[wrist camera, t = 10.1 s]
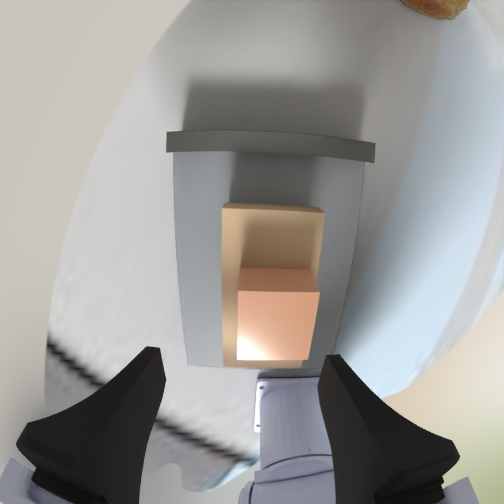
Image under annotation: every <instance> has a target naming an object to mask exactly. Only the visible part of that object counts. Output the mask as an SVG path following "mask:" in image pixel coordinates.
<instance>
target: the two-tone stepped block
mask: <svg viewBox="0 0 504 504" xmlns="http://www.w3.org/2000/svg"><path fill="white" fill-rule="evenodd" d="M324 218H325V213H324V212H323V211H322V210H321V209H320V208H319V207H312V206H296V205H277V204H255V203H224V205H223V207H222V334H223V366H227V367H251V368H301V366H302V361H303V360H239V359H237V321H238V283H239V273H240V267H245V268H281V269H310V271H311V273H312V275H313V277H314V280H315V282H316V281H317V274H318V267H319V260H320V252H321V244H322V236H323V228H324Z"/></svg>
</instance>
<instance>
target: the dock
mask: <svg viewBox="0 0 504 504" xmlns="http://www.w3.org/2000/svg"><path fill="white" fill-rule="evenodd" d="M375 144H376V143H370V142H364V141H358V140H351V139H344V138H336V137H328V136H319V135H310V134H299V133H286V132H270V131H243V130H201V131H175V132H167V143H166V152H173V179H174V218H175V240H176V256H177V270H178V283H179V294H180V304H181V314H182V323H183V332H184V340H185V348H186V355H187V362H188V365H189V366H201V367H215V368H233V369H316V368H323V364H324V360H325V357H326V355H332V353H333V350H334V346H335V342H336V338H337V334H338V330H339V325H340V321H341V317H342V312H343V308H344V303H345V298H346V293H347V288H348V283H349V278H350V273H351V267H352V261H353V255H354V249H355V243H356V236H357V229H358V222H359V214H360V206H361V198H362V188H363V178H364V166H365V162H370V163H374V159H375ZM224 203H255V204H277V205H296V206H312V207H319V208H320V209H321V210H322V211H323V212H324V213H325V218H324V228H323V236H322V244H321V252H320V260H319V267H318V274H317V281H316V284H317V286H318V289H319V291H320V296H319V302H318V308H317V314H316V320H315V325H314V331H313V336H312V341H311V347H310V352H309V357H308V360H303V361H302V366H301V368H251V367H227V366H223V334H222V207H223V205H224Z"/></svg>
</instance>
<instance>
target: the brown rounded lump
mask: <svg viewBox="0 0 504 504" xmlns="http://www.w3.org/2000/svg"><path fill="white" fill-rule="evenodd" d="M400 1H401V2H403V3H404V4H405V5H408V6H409V7H410V8H412V9H415V10H416V11H418V12H419V13H421V14H424V15H427V16H430V17H432V18H435V19H439V20H444V19H449V20H452V19H455V18H456V16H457V15H459V13H461V11H462V10H464V9H466V7H467V3H468V2H469V0H400Z"/></svg>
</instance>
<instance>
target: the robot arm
mask: <svg viewBox="0 0 504 504" xmlns="http://www.w3.org/2000/svg"><path fill="white" fill-rule="evenodd" d="M165 383H166V376H165V372H164V367H163V362H162V357H161V352H160V348H157V347H149V346H147V347H145V348H144V349H143V350H142V351H141V352H140V353H139V354H138V355H137V356H136V357H135V358H134V359H133V360H132V361H131V362H130V363H129V364H128V365H127V366H126V367H125V368H124V369H123V370H122V371H120V372H119V373H118V374H117V375H116V376H115V377H114V378H113V379H111V380H110V381H109V382H108V383H107V384H105V385H104V386H103V387H102V388H100V389H99V390H98V391H96V392H95V393H93V394H92V395H90V396H89V397H87V398H86V399H84V400H83V401H81V402H79V403H77V404H75V405H73V406H72V407H70V408H68V409H66V410H64V411H61V412H59V413H57V414H54V415H52V416H49V417H46V418H43V419H40V420H37V421H33V422H29V423H27V425H26V426H25V428H24V430H23V432H22V433H21V435H20V437H19V439H18V440H17V442H16V445H17V448H18V449H19V451H20V452H21V453H22V454H23V455H24V456H25V457H26V458H27V459H28V460H29V461H30V462H31V463H32V464H33V465H34V466H35V467H36V470H35V472H33V471H32V470H31V469H29V468H28V467H26V466H24V465H23V464H21V463H20V462H18V461H16V460H15V459H13V458H10V460H9V461H8V463H7V465H6V467H5V469H4V471H3V474H2V475H1V478H0V501H1V502H3V503H4V504H139V494H140V484H141V476H142V469H143V463H144V457H145V452H146V447H147V443H148V439H149V436H150V433H151V430H152V427H153V424H154V421H155V418H156V415H157V413H158V410H159V407H160V404H161V401H162V397H163V393H164V388H165ZM261 386H262V387H261ZM254 431H256V432H260V458H261V470H259V471H255V481H249V482H248V483H247V484H246V485H245V487H244V488H243V489H242V490H241V493H240V495H239V501H238V504H479V502H478V499H477V497H476V494H475V492H474V490H473V487H472V485H471V483H470V480H469V478H468V477H465V478H463V479H461V480H459V481H457V482H455V483H453V484H451V485H449V486H447V487H446V488H444V489H442V486H441V484H443V483H444V480H443V477H442V476H443V475H444V474H445V473H446V472H448V471H449V470H450V469H451V468H452V467H453V466H454V465H455V464H456V463H457V461H458V460H459V458H460V455H459V453H458V451H457V449H456V447H455V445H454V443H453V441H452V440H449V439H446V438H443V437H441V436H438V435H436V434H433V433H431V432H429V431H427V430H425V429H423V428H421V427H419V426H417V425H416V424H414V423H412V422H411V421H409V420H407V419H406V418H404V417H403V416H401V415H400V414H398V413H397V412H396V411H394V410H393V409H392V408H391V407H389V406H388V405H387V404H386V403H384V402H383V401H382V400H381V399H380V398H379V397H378V396H377V395H376V394H375V393H373V392H372V391H371V390H370V389H369V388H368V386H367V385H366V384H365V383H364V382H363V381H362V380H361V379H360V378H359V377H358V376H357V375H356V373H355V372H354V371H353V370H352V369H351V368H350V366H349V365H348V364H347V363H346V362H345V361H344V359H343V358H342V357H341V356H340V355H339V354H336V355H326V357H325V360H324V364H323V368H322V371H321V375H320V377H315V378H281V379H263V378H262V379H259V380H257V388H256V401H255V415H254Z"/></svg>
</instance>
